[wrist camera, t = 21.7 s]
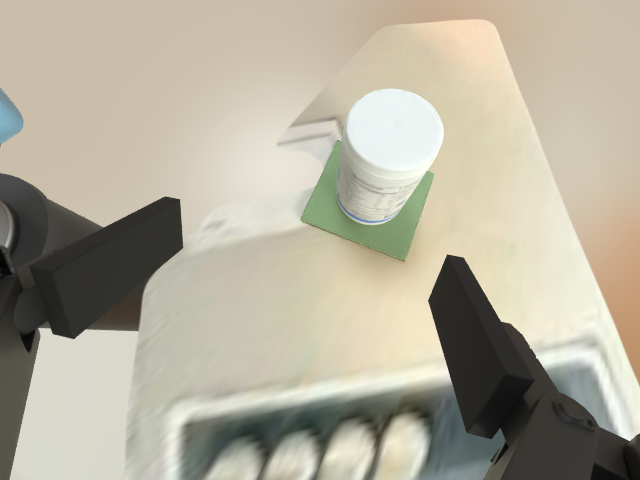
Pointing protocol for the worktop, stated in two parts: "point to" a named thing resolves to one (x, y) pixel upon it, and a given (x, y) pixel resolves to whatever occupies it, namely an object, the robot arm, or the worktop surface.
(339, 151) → the mat
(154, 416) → the worktop surface
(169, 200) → the robot arm
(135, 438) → the worktop surface
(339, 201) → the supplement tub
